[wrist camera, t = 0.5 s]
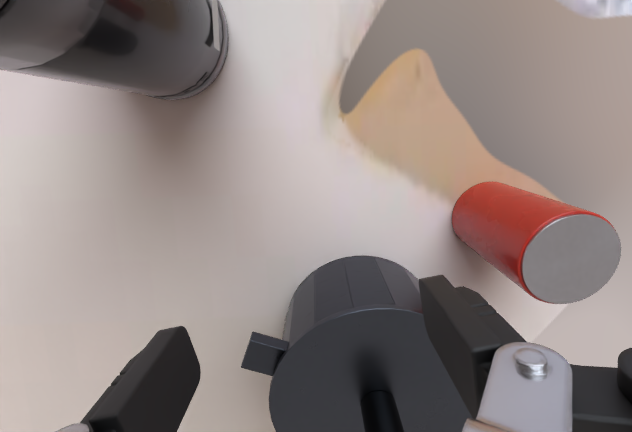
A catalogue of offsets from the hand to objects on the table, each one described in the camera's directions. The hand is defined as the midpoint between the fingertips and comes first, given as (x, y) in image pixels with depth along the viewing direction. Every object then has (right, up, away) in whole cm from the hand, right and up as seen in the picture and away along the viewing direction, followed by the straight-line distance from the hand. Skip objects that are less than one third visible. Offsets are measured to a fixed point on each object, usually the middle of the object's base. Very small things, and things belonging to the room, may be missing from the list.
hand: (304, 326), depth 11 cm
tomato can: (+15, +4, +17) cm, 24 cm away
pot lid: (+5, -9, +12) cm, 16 cm away
